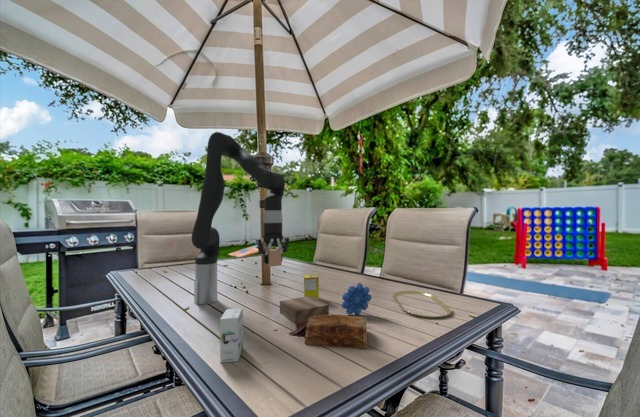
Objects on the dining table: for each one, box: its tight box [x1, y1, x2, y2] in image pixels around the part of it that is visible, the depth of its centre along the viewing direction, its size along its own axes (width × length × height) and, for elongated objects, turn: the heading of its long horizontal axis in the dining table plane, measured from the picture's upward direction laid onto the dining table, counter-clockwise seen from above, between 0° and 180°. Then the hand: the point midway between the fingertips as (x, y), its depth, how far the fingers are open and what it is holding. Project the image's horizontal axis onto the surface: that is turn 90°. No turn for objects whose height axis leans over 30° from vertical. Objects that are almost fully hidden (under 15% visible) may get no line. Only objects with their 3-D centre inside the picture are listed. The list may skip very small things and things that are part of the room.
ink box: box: [219, 307, 244, 364], centre depth 83 cm, size 8×5×12 cm, turn 6°
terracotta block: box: [264, 248, 282, 267], centre depth 120 cm, size 5×5×6 cm
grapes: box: [341, 283, 372, 315], centre depth 115 cm, size 12×7×12 cm, turn 95°
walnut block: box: [279, 296, 330, 325], centre depth 115 cm, size 14×14×5 cm
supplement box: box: [303, 274, 320, 300], centre depth 134 cm, size 6×6×11 cm
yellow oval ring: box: [392, 290, 452, 320], centre depth 127 cm, size 19×35×2 cm, turn 178°
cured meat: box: [288, 314, 368, 350], centre depth 96 cm, size 18×25×7 cm
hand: (273, 263), depth 120 cm, fingers closed on terracotta block, 5 cm apart
